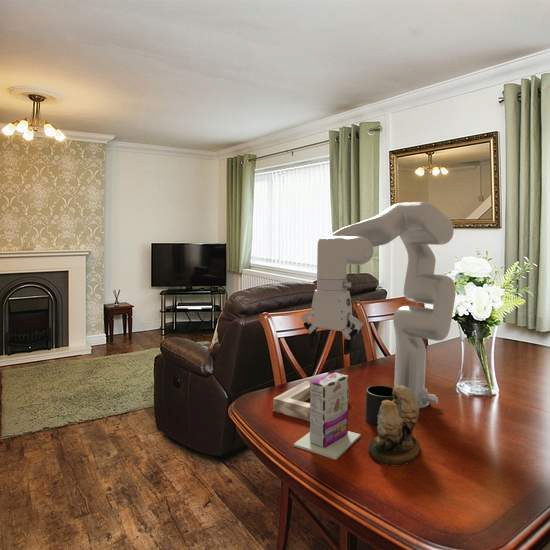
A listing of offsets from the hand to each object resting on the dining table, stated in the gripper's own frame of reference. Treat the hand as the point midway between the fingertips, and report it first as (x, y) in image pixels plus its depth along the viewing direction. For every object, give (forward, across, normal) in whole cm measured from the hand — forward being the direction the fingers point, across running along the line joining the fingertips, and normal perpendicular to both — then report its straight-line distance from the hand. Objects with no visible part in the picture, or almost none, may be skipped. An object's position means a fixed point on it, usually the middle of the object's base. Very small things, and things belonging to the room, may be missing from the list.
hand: (330, 350), depth 114 cm
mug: (+25, -7, -21) cm, 33 cm away
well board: (+24, +15, -17) cm, 33 cm away
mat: (+24, 0, +1) cm, 24 cm away
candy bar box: (+24, 0, 0) cm, 24 cm away
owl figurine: (+25, -16, -5) cm, 30 cm away
